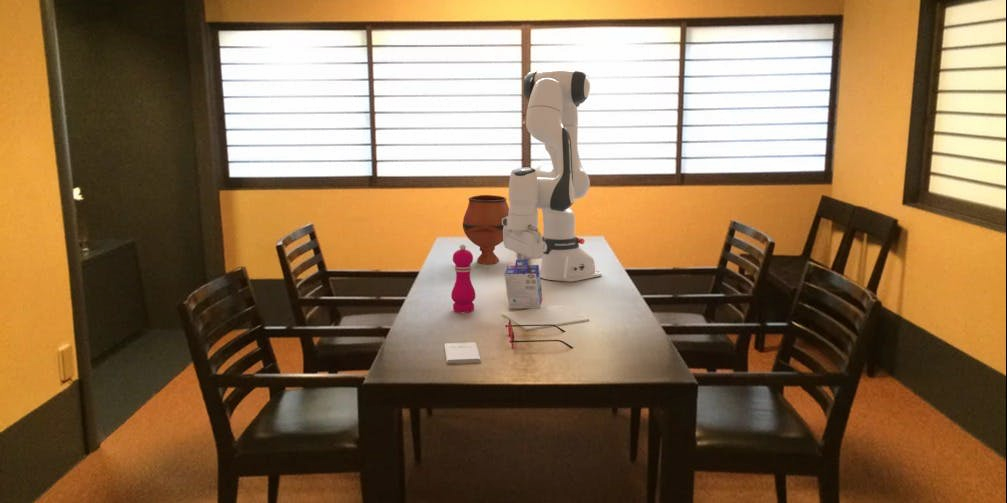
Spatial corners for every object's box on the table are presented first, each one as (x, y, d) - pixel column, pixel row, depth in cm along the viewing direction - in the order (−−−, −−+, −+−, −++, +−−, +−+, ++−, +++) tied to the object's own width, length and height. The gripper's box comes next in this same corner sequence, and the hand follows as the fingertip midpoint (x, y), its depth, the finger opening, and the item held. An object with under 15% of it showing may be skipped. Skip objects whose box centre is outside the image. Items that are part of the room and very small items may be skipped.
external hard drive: (446, 366, 182) (444, 348, 194) (480, 364, 183) (476, 347, 195) (446, 359, 181) (444, 342, 193) (480, 358, 182) (476, 341, 194)
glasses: (505, 334, 205) (505, 316, 204) (565, 332, 206) (565, 315, 205) (509, 351, 191) (509, 333, 190) (573, 350, 192) (574, 331, 191)
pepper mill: (479, 307, 229) (478, 242, 224) (470, 314, 222) (469, 247, 218) (457, 305, 231) (456, 241, 227) (447, 311, 224) (446, 246, 220)
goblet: (477, 269, 277) (476, 202, 272) (454, 259, 293) (453, 196, 288) (522, 263, 286) (522, 198, 281) (497, 254, 303) (497, 192, 297)
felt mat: (561, 306, 229) (561, 305, 229) (589, 320, 215) (589, 319, 215) (501, 314, 221) (501, 313, 221) (526, 330, 207) (526, 328, 207)
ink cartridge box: (543, 298, 230) (538, 257, 223) (541, 308, 225) (536, 266, 218) (511, 298, 232) (505, 258, 225) (508, 308, 227) (502, 267, 220)
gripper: (549, 227, 217) (548, 274, 220) (517, 217, 235) (517, 260, 238) (529, 229, 214) (528, 276, 217) (499, 218, 232) (499, 262, 235)
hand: (522, 268), depth 228 cm, fingers closed
